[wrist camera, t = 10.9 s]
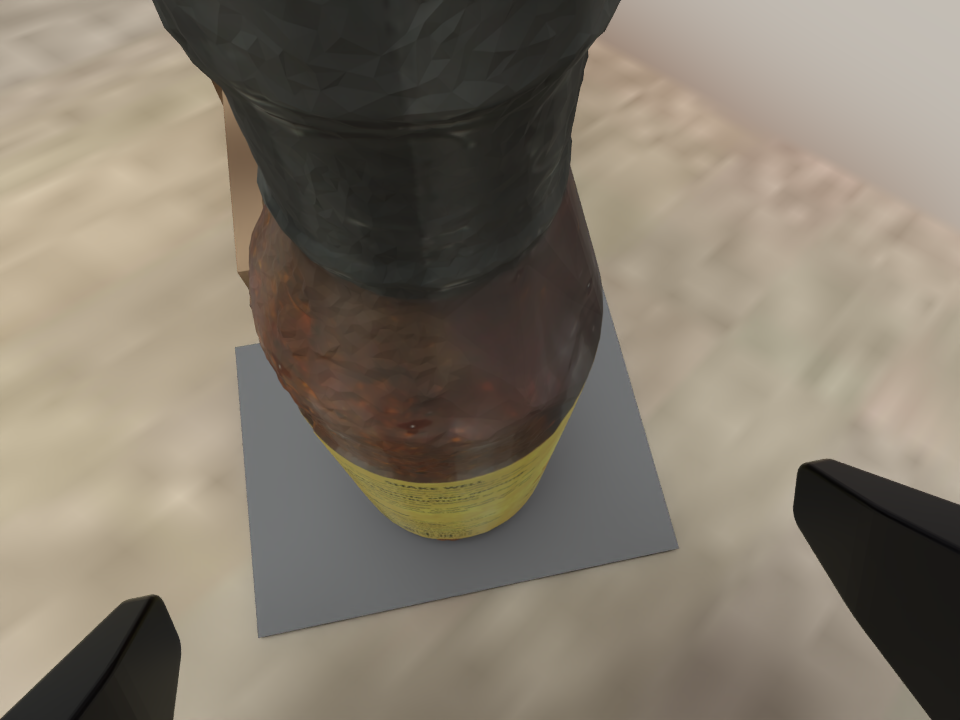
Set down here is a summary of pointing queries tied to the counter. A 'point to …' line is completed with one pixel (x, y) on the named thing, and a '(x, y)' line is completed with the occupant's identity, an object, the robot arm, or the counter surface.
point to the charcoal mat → (425, 561)
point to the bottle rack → (241, 187)
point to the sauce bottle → (416, 233)
